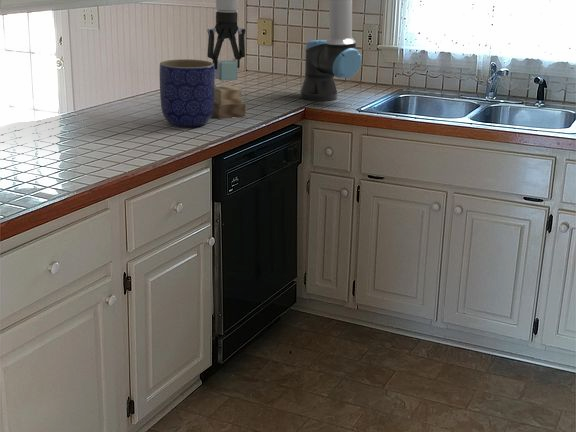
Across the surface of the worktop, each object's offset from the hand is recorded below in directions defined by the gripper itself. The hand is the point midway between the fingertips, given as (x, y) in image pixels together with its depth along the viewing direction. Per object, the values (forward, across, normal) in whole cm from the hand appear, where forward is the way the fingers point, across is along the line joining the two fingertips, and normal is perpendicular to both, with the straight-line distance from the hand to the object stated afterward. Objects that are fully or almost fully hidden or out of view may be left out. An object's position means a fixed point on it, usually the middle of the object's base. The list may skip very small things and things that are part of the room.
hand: (226, 77), depth 289 cm
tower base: (+14, 0, 0) cm, 14 cm away
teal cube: (0, 0, 0) cm, 0 cm away
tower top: (+9, 0, 0) cm, 9 cm away
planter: (+14, +18, +9) cm, 24 cm away
